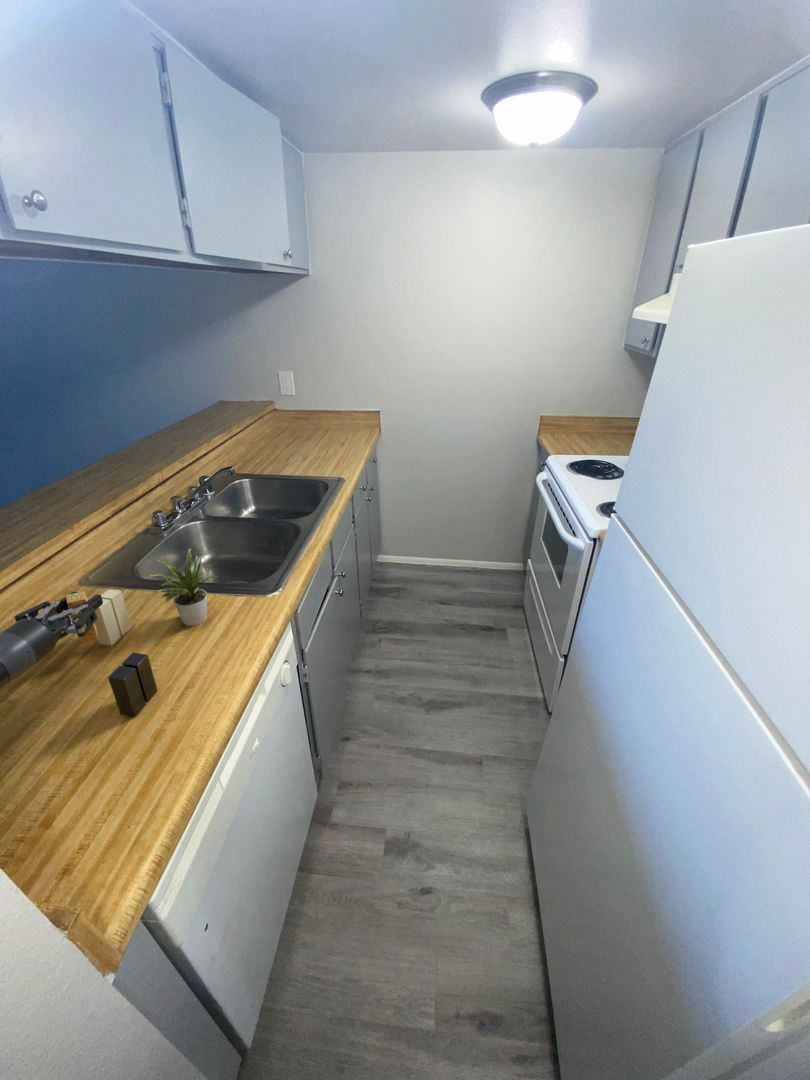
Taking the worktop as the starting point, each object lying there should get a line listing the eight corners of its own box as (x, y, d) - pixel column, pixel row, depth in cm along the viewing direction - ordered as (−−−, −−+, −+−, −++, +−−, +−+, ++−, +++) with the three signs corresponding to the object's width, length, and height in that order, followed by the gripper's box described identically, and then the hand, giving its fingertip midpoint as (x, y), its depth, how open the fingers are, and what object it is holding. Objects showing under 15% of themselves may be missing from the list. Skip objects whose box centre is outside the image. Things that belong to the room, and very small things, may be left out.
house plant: (164, 603, 115) (149, 544, 108) (224, 595, 119) (214, 538, 112) (156, 640, 103) (139, 576, 96) (223, 629, 107) (212, 568, 100)
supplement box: (79, 644, 94) (65, 602, 89) (79, 635, 96) (64, 594, 92) (99, 639, 96) (85, 597, 91) (98, 630, 98) (84, 589, 94)
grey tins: (135, 717, 85) (123, 679, 80) (120, 714, 85) (107, 677, 81) (157, 690, 90) (147, 654, 86) (143, 688, 91) (132, 652, 87)
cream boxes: (111, 646, 101) (99, 607, 96) (99, 644, 101) (86, 606, 97) (131, 627, 107) (121, 590, 102) (119, 625, 107) (108, 589, 102)
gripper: (44, 639, 77) (116, 584, 92) (-32, 628, 79) (51, 577, 94) (58, 674, 81) (125, 616, 96) (-16, 663, 82) (62, 608, 97)
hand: (88, 597), depth 95 cm, fingers closed on supplement box, 4 cm apart
